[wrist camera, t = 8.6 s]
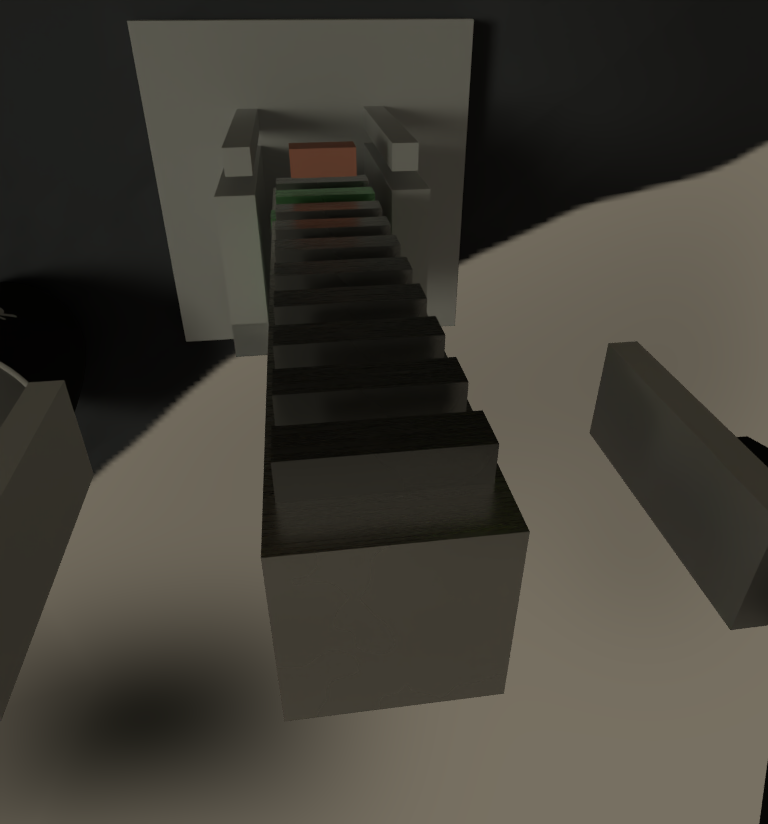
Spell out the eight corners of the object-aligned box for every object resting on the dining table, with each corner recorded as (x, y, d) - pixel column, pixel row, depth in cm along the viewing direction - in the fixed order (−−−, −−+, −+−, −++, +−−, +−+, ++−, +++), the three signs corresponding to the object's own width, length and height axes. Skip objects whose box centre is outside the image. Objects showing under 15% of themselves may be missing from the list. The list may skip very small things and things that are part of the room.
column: (270, 168, 27) (251, 516, 9) (366, 165, 28) (540, 489, 9) (280, 278, 30) (281, 723, 11) (368, 273, 30) (505, 694, 12)
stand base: (135, 20, 31) (60, 30, 20) (463, 18, 33) (551, 26, 22) (189, 327, 39) (157, 446, 29) (447, 312, 41) (505, 419, 31)
